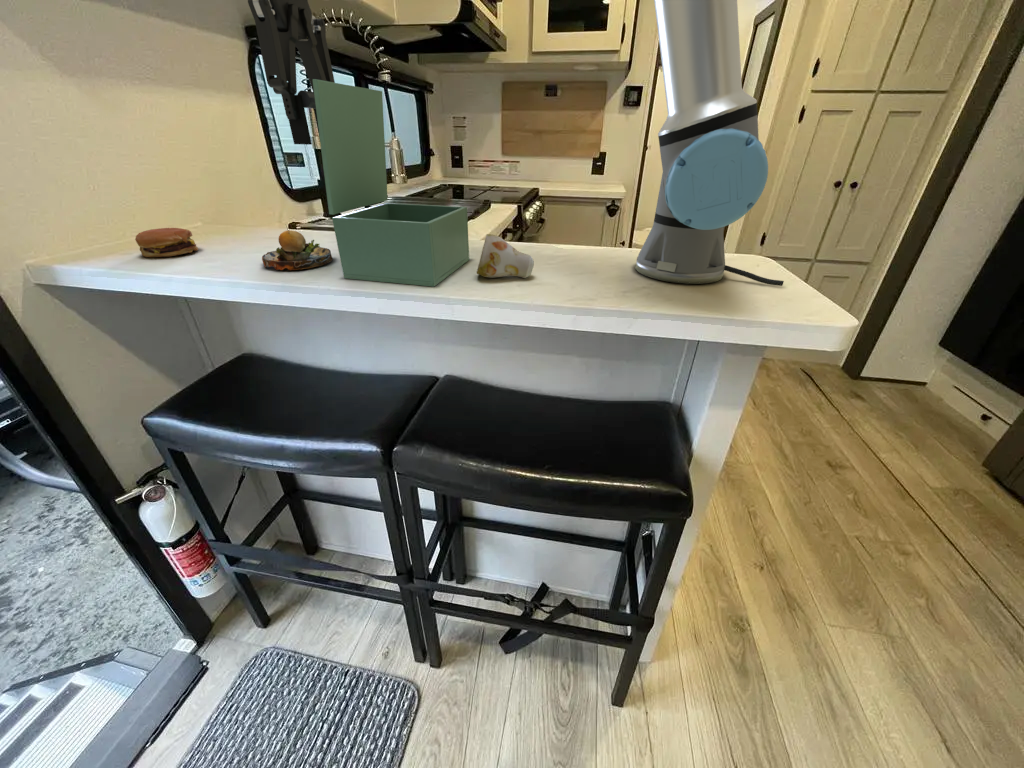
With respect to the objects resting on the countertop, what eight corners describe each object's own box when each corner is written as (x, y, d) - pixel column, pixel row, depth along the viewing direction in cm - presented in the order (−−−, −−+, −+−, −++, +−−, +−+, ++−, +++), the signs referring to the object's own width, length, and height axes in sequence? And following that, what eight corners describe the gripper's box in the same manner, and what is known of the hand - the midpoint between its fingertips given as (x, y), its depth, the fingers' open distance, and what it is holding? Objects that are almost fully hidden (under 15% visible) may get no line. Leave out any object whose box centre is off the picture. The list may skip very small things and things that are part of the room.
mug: (539, 284, 70) (512, 233, 64) (489, 304, 73) (459, 257, 67) (540, 262, 75) (515, 212, 69) (494, 281, 79) (466, 236, 73)
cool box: (469, 259, 82) (467, 206, 77) (434, 286, 67) (428, 223, 62) (393, 253, 85) (386, 202, 80) (344, 278, 71) (331, 217, 66)
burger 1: (136, 252, 83) (126, 228, 81) (190, 245, 89) (182, 222, 87) (148, 262, 78) (137, 236, 75) (205, 254, 84) (196, 229, 81)
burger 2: (343, 256, 83) (335, 216, 79) (313, 272, 73) (303, 228, 69) (286, 254, 84) (276, 214, 80) (249, 270, 74) (235, 226, 70)
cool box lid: (382, 91, 71) (340, 86, 72) (317, 79, 56) (265, 73, 57) (387, 200, 80) (350, 194, 81) (333, 214, 65) (288, 207, 67)
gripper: (299, -25, 66) (330, 142, 78) (194, -76, 50) (254, 144, 62) (341, -28, 64) (366, 143, 76) (246, -82, 48) (297, 145, 60)
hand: (316, 143), depth 69 cm, fingers closed on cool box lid, 6 cm apart
